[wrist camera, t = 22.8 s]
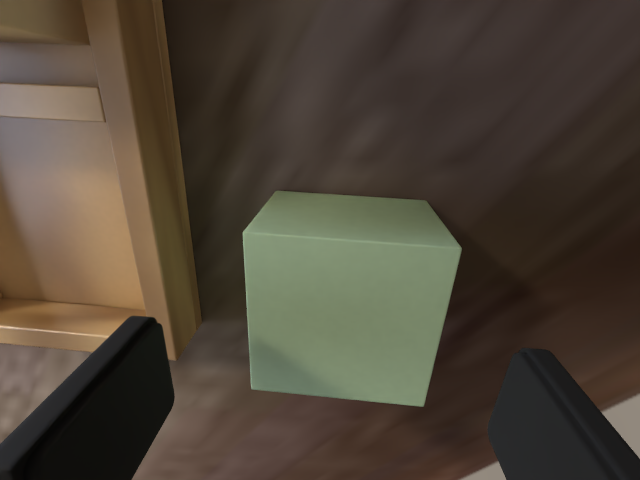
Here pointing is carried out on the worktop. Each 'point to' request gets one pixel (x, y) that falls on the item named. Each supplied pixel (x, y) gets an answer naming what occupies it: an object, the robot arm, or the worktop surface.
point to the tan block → (43, 22)
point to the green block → (347, 295)
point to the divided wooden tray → (94, 186)
